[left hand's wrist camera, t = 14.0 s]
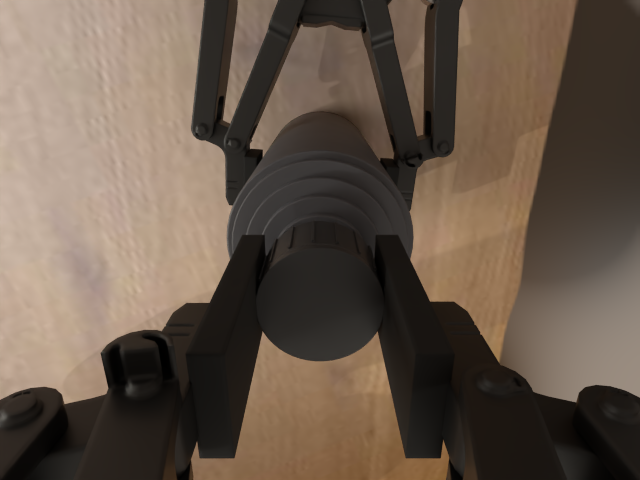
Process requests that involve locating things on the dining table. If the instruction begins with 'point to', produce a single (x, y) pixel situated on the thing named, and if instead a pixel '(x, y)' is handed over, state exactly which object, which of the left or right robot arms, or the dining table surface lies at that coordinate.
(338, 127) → the bottle
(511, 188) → the dining table surface
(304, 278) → the cap
